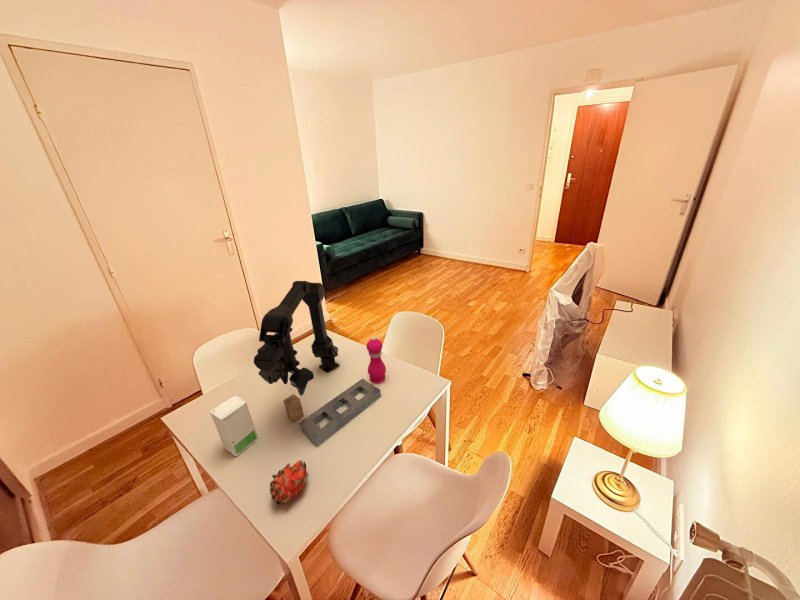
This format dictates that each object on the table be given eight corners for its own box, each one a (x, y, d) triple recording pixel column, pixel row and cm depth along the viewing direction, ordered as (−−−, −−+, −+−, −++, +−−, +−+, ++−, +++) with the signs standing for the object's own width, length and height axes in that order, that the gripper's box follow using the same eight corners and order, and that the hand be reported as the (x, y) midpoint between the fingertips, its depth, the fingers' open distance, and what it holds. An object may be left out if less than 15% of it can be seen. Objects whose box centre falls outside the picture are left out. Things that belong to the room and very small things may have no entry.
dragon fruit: (272, 515, 77) (305, 479, 87) (290, 513, 72) (322, 475, 83) (255, 487, 77) (290, 454, 87) (272, 483, 72) (307, 449, 83)
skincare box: (235, 457, 91) (219, 421, 84) (223, 448, 94) (207, 412, 87) (259, 437, 97) (247, 401, 90) (247, 429, 100) (234, 394, 94)
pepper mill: (387, 372, 123) (384, 331, 114) (385, 385, 117) (381, 342, 108) (370, 372, 124) (365, 331, 115) (367, 384, 117) (361, 342, 109)
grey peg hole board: (300, 429, 99) (298, 423, 98) (363, 384, 117) (362, 378, 116) (317, 446, 93) (315, 439, 92) (381, 396, 111) (380, 389, 110)
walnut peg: (288, 417, 104) (283, 400, 101) (298, 410, 107) (293, 393, 103) (294, 423, 102) (289, 406, 98) (304, 416, 104) (299, 399, 101)
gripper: (243, 352, 92) (256, 391, 99) (276, 375, 81) (288, 417, 88) (276, 336, 100) (286, 373, 107) (310, 355, 89) (318, 395, 96)
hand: (293, 389), depth 99 cm, fingers open, 9 cm apart
